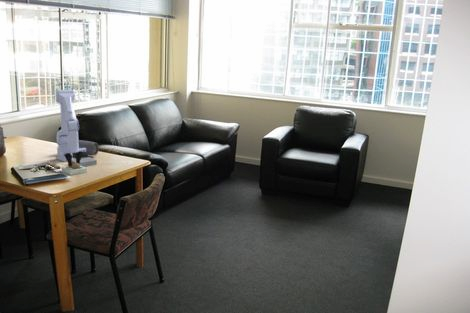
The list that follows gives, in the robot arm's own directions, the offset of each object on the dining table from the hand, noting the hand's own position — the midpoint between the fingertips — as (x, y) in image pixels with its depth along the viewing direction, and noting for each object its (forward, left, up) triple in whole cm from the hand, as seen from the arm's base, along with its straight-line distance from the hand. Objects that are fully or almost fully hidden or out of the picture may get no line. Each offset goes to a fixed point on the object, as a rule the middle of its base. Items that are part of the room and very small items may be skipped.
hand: (74, 165), depth 254 cm
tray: (0, 0, -3) cm, 3 cm away
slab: (-11, +12, -4) cm, 16 cm away
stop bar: (-10, -7, -3) cm, 13 cm away
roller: (0, 0, -2) cm, 2 cm away
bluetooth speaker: (-31, +20, -4) cm, 36 cm away
